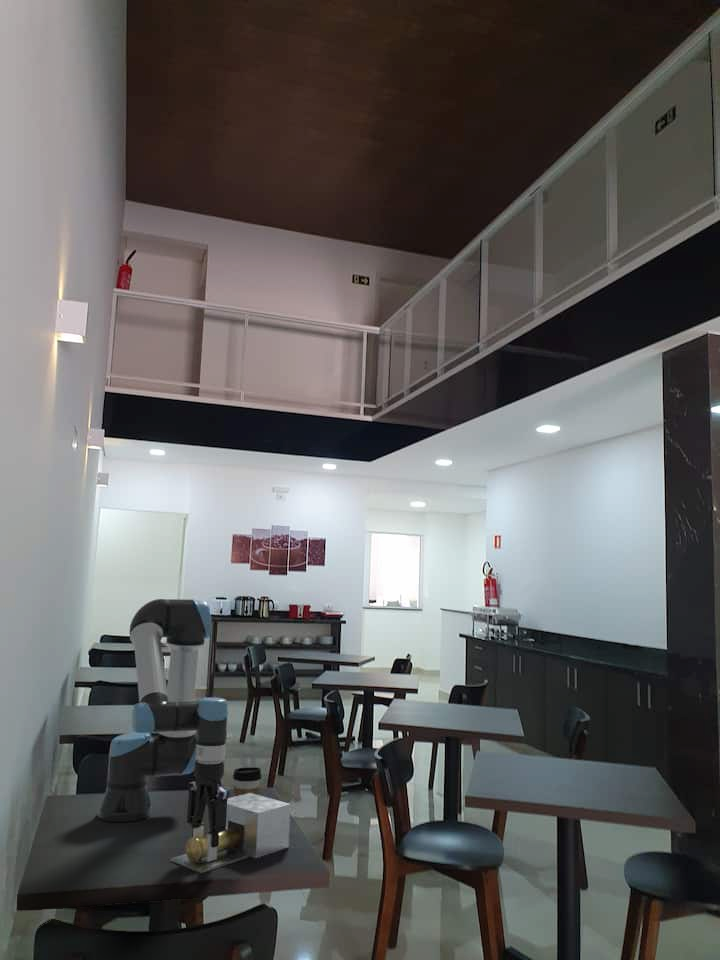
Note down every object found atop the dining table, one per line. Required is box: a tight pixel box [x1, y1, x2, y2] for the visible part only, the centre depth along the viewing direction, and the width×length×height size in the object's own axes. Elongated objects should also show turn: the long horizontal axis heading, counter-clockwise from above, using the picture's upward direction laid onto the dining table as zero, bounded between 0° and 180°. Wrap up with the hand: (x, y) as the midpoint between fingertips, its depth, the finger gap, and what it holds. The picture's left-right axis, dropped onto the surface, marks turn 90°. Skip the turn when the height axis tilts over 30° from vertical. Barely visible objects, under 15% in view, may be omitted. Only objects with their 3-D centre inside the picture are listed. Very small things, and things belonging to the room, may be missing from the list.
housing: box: [170, 793, 291, 874], centre depth 193 cm, size 16×28×11 cm, turn 141°
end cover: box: [185, 827, 241, 862], centre depth 189 cm, size 6×14×6 cm, turn 141°
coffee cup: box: [232, 766, 262, 797], centre depth 220 cm, size 8×8×15 cm
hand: (204, 857), depth 186 cm, fingers closed on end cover, 5 cm apart
